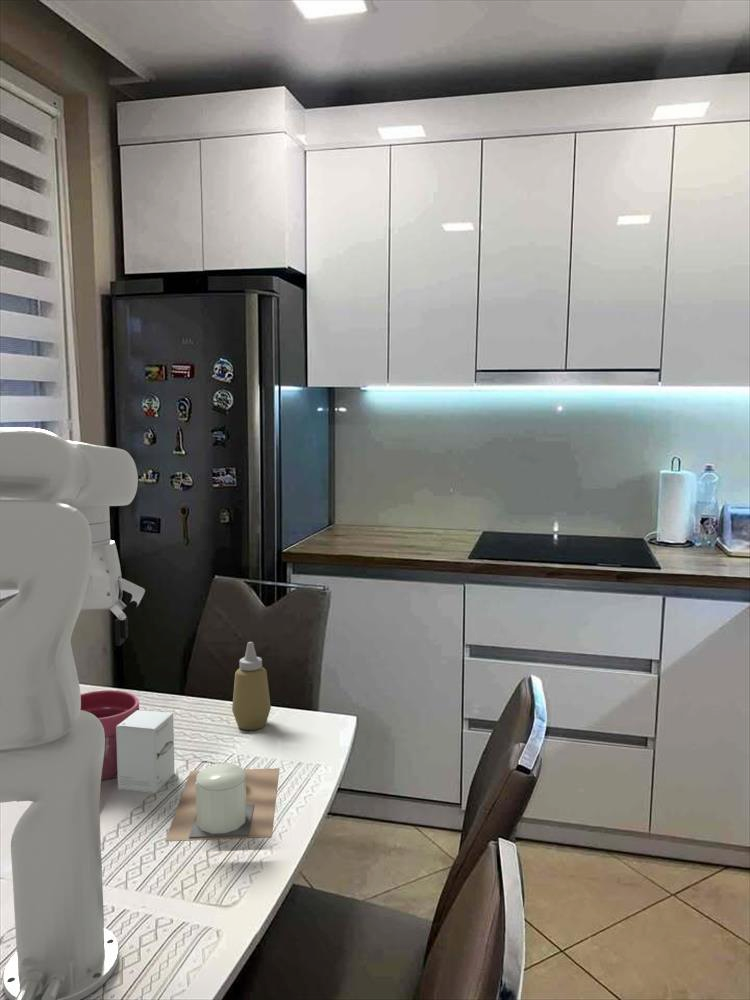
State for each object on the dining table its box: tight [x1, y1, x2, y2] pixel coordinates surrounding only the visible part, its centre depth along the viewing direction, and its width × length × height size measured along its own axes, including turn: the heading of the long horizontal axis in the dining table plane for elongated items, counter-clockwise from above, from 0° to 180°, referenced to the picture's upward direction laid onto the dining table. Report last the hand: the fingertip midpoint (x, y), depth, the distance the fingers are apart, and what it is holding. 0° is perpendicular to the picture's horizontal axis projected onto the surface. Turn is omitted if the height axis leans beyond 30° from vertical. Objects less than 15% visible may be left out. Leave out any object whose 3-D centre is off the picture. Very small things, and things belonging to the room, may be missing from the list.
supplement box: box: [116, 709, 175, 794], centre depth 129 cm, size 7×7×13 cm
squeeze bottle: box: [231, 641, 272, 731], centre depth 155 cm, size 8×8×18 cm
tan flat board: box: [165, 767, 280, 842], centre depth 123 cm, size 22×16×1 cm
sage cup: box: [196, 763, 246, 834], centre depth 116 cm, size 8×8×8 cm
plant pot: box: [80, 689, 140, 782], centre depth 135 cm, size 14×14×13 cm
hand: (88, 643), depth 113 cm, fingers open, 9 cm apart
